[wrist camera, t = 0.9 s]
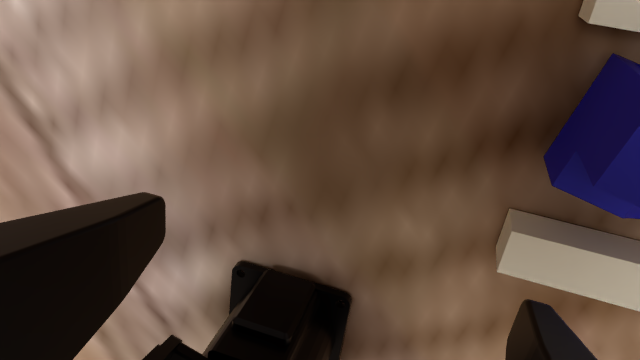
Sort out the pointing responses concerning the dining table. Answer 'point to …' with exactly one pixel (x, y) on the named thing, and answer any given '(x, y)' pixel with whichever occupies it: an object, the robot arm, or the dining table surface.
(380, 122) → the dining table surface
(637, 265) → the guide channel
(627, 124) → the cable clip
